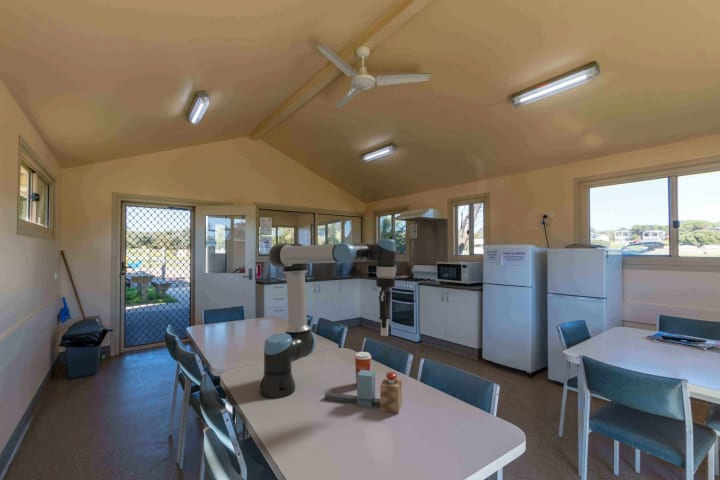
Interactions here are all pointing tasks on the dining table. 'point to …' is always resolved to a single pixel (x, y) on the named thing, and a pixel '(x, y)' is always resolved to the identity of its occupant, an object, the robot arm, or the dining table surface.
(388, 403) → the housing
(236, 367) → the dining table surface
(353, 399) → the rail
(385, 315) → the robot arm
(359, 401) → the block
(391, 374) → the plunger
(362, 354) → the paper cup
